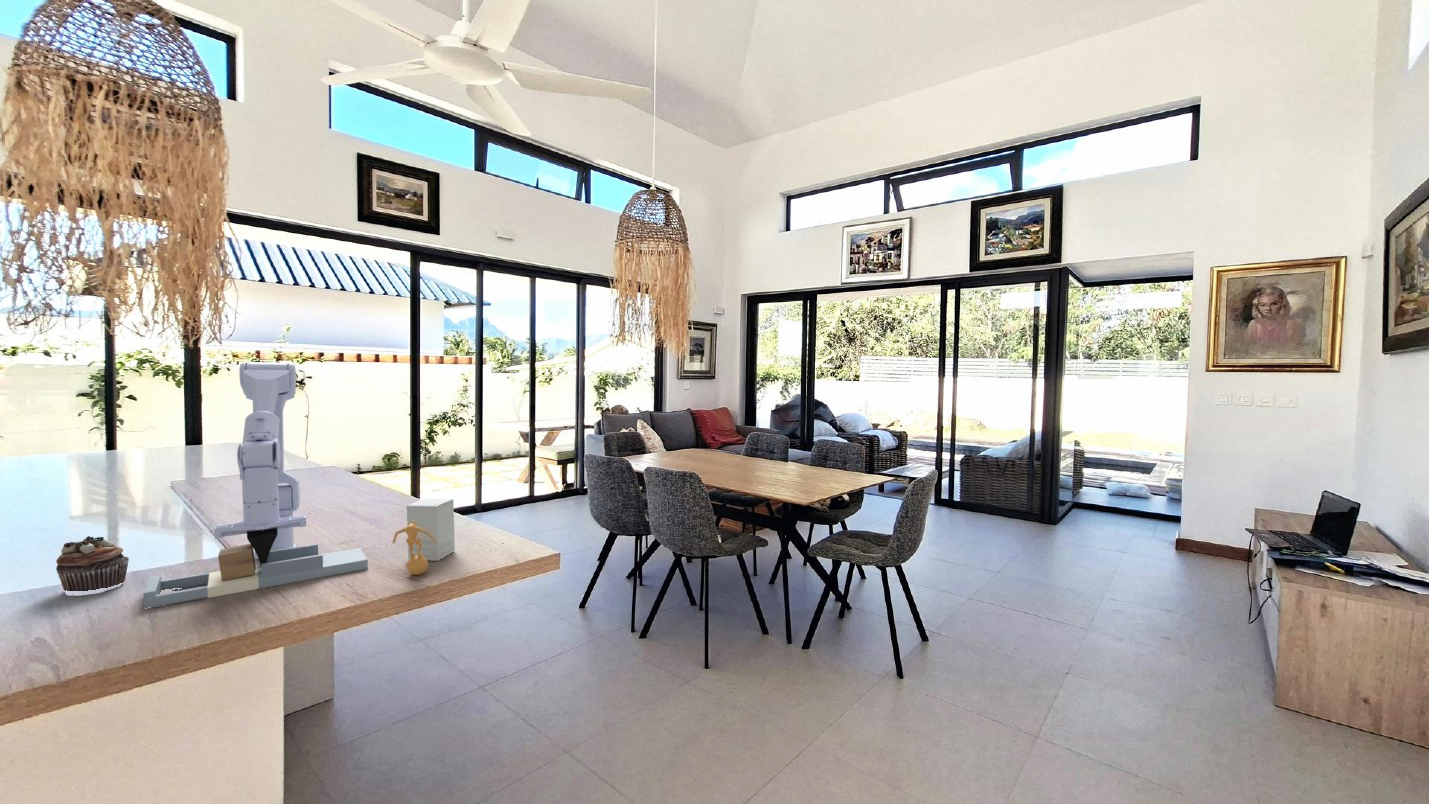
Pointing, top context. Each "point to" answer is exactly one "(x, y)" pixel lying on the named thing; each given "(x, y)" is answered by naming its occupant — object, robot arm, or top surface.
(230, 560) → the block
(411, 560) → the figurine
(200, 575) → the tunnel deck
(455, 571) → the top surface
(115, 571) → the cupcake
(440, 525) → the supplement box
